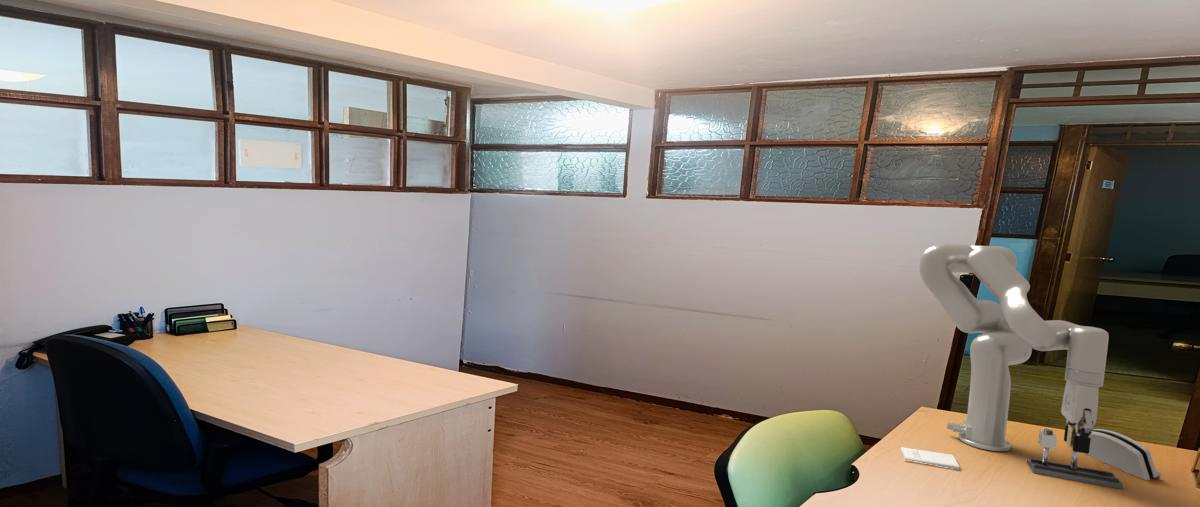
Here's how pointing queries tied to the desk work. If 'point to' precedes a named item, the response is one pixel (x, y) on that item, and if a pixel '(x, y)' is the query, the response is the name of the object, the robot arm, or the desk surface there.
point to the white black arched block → (1122, 453)
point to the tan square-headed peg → (1070, 443)
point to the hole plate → (1068, 466)
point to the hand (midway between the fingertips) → (1076, 446)
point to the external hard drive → (930, 457)
